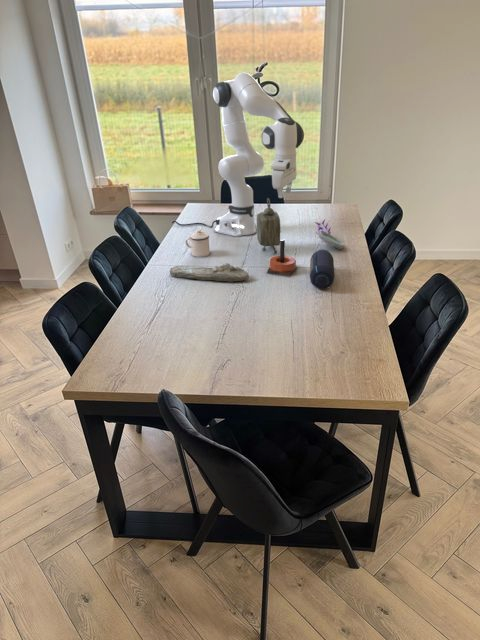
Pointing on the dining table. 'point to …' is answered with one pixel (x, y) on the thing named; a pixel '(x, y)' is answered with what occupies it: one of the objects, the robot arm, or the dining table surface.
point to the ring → (282, 264)
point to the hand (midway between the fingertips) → (284, 194)
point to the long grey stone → (211, 273)
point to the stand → (281, 261)
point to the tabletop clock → (268, 228)
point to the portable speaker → (322, 269)
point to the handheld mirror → (328, 236)
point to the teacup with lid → (199, 244)
